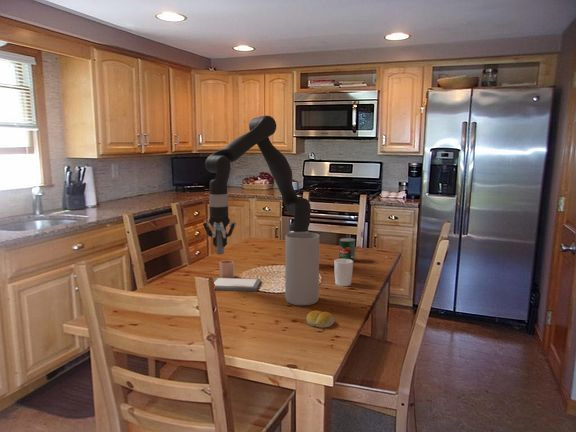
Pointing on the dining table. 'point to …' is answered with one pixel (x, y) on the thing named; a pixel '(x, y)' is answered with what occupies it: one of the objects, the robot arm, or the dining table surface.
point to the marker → (219, 240)
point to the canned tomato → (347, 249)
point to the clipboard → (236, 284)
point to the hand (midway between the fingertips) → (220, 246)
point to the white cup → (343, 271)
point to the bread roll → (320, 319)
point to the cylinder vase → (302, 268)
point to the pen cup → (226, 269)
